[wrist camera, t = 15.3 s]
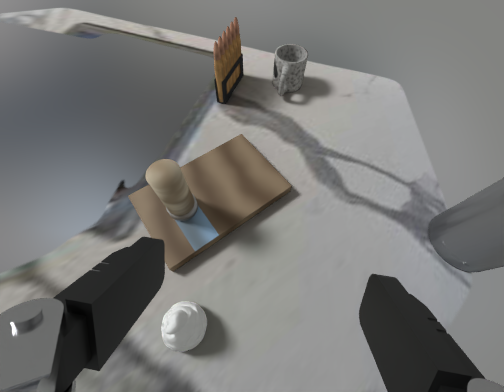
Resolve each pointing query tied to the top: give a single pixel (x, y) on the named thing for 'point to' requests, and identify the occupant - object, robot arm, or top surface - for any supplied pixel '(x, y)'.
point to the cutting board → (213, 199)
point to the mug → (289, 68)
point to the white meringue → (184, 326)
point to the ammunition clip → (228, 62)
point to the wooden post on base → (172, 189)
